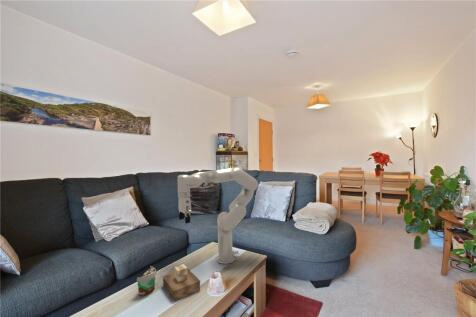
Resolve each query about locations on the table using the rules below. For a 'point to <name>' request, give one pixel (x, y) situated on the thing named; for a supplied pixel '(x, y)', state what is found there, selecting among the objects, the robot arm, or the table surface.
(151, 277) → the food container
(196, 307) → the table surface
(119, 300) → the table surface
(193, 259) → the table surface
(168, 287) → the walnut box
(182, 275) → the birch block
